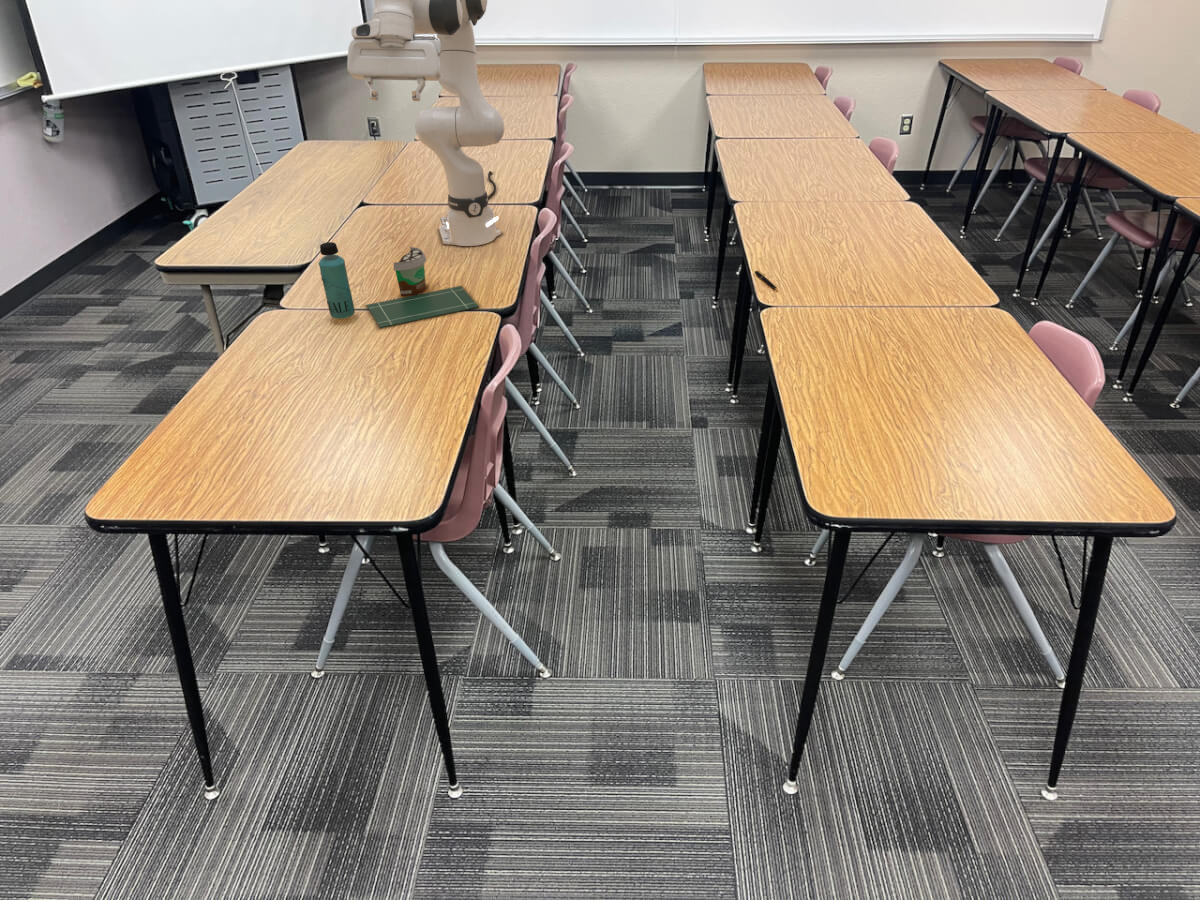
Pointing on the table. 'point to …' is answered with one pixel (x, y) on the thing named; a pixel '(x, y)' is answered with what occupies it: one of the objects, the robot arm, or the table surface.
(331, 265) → the beverage bottle
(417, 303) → the cutting mat
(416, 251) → the grey green half-round piece
